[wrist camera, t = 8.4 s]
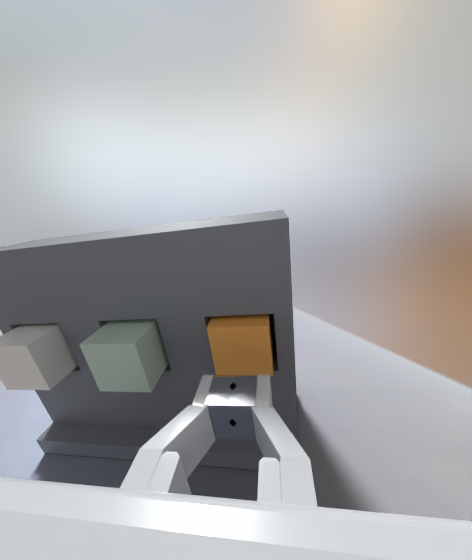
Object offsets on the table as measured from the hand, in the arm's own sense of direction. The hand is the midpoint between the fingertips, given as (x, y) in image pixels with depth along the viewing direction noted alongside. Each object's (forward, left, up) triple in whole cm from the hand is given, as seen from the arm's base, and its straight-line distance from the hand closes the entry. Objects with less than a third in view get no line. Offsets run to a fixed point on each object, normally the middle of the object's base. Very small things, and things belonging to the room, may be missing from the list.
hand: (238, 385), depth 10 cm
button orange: (0, +4, -2) cm, 5 cm away
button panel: (-7, +6, -9) cm, 13 cm away
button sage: (-7, +3, -2) cm, 8 cm away
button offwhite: (-14, +3, -2) cm, 15 cm away
